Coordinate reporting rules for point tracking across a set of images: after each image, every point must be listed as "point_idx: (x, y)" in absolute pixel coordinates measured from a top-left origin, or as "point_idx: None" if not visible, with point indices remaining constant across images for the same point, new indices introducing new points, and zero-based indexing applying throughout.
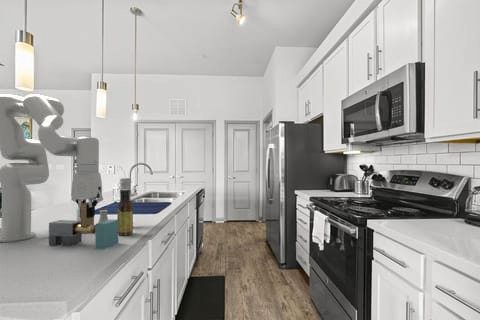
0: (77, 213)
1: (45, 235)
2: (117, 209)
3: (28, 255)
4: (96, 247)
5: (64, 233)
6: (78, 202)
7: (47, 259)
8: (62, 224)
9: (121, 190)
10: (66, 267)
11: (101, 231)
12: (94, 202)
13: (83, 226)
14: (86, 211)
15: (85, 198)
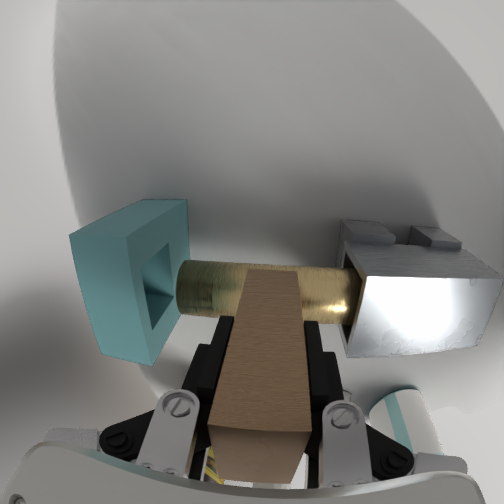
0: (435, 442)
1: (491, 338)
2: (211, 471)
3: (421, 93)
4: (179, 200)
5: (397, 250)
6: (365, 448)
7: (296, 42)
8: (433, 273)
9: None
10: (151, 6)
11: (113, 220)
12: (116, 429)
13: (270, 270)
14: (228, 349)
15: (167, 483)
